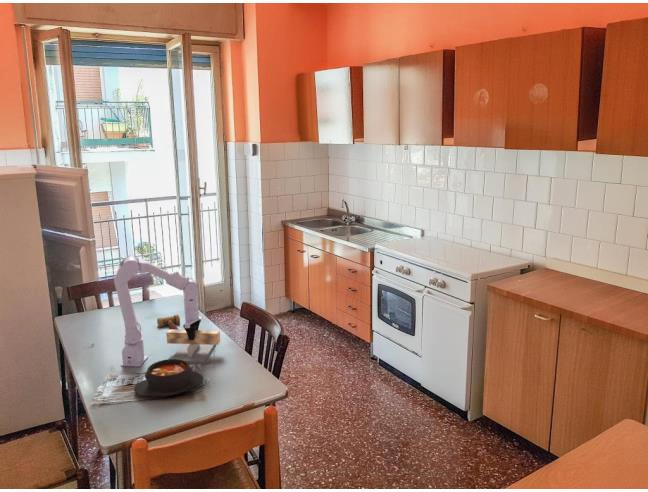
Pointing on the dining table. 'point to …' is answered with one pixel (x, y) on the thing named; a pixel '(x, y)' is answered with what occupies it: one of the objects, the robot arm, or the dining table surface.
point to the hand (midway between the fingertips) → (193, 338)
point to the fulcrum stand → (193, 353)
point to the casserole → (168, 378)
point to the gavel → (169, 321)
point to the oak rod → (200, 337)
